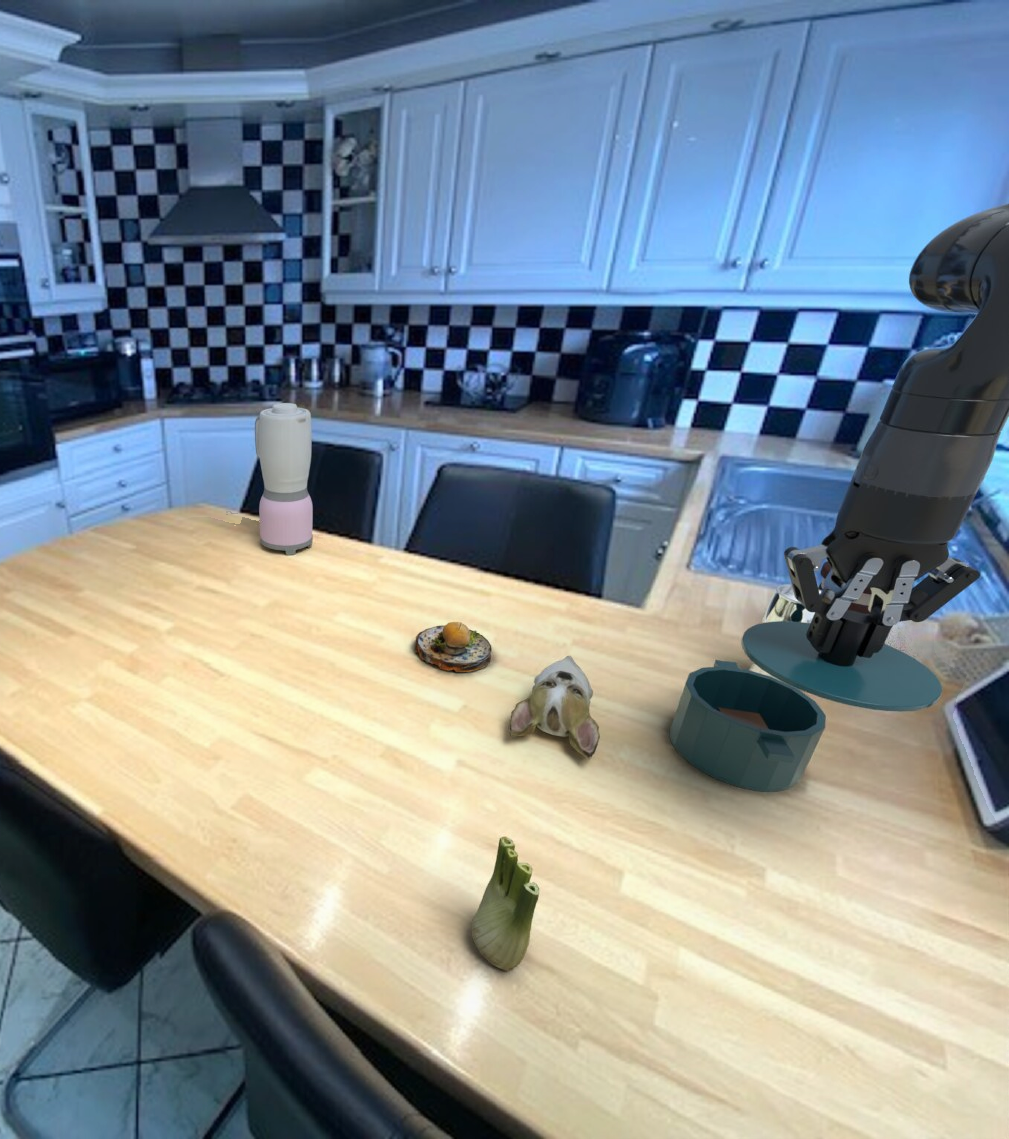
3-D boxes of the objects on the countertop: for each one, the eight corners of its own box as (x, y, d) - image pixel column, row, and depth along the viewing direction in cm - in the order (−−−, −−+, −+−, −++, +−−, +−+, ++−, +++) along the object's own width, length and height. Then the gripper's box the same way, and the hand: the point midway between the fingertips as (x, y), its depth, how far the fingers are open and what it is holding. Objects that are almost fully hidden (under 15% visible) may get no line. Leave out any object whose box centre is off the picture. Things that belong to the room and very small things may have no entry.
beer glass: (812, 700, 88) (853, 608, 82) (757, 696, 89) (793, 605, 83) (782, 671, 95) (818, 584, 88) (731, 668, 96) (763, 582, 89)
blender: (324, 544, 144) (326, 404, 130) (285, 560, 137) (284, 414, 123) (277, 527, 155) (275, 396, 141) (240, 540, 148) (234, 404, 134)
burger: (494, 641, 105) (500, 603, 101) (486, 680, 95) (493, 639, 92) (422, 628, 109) (425, 590, 106) (408, 663, 100) (411, 623, 97)
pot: (766, 715, 86) (787, 664, 82) (832, 820, 70) (862, 762, 66) (654, 698, 90) (669, 649, 86) (691, 793, 74) (712, 738, 70)
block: (748, 740, 81) (759, 713, 79) (761, 764, 77) (773, 736, 75) (707, 734, 82) (717, 707, 80) (718, 757, 78) (729, 729, 76)
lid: (882, 640, 65) (905, 589, 62) (978, 729, 53) (1013, 671, 50) (718, 623, 69) (734, 575, 67) (772, 702, 57) (794, 646, 54)
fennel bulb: (525, 987, 55) (549, 896, 50) (466, 968, 56) (483, 877, 51) (524, 928, 60) (546, 840, 54) (471, 912, 61) (487, 824, 56)
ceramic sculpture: (615, 655, 84) (605, 724, 73) (602, 704, 89) (591, 777, 78) (531, 636, 90) (510, 698, 79) (523, 684, 94) (502, 749, 83)
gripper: (989, 470, 54) (906, 640, 61) (795, 462, 58) (739, 622, 65) (1059, 498, 47) (956, 684, 55) (835, 487, 51) (768, 661, 59)
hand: (838, 650), depth 60 cm, fingers closed on lid, 2 cm apart
